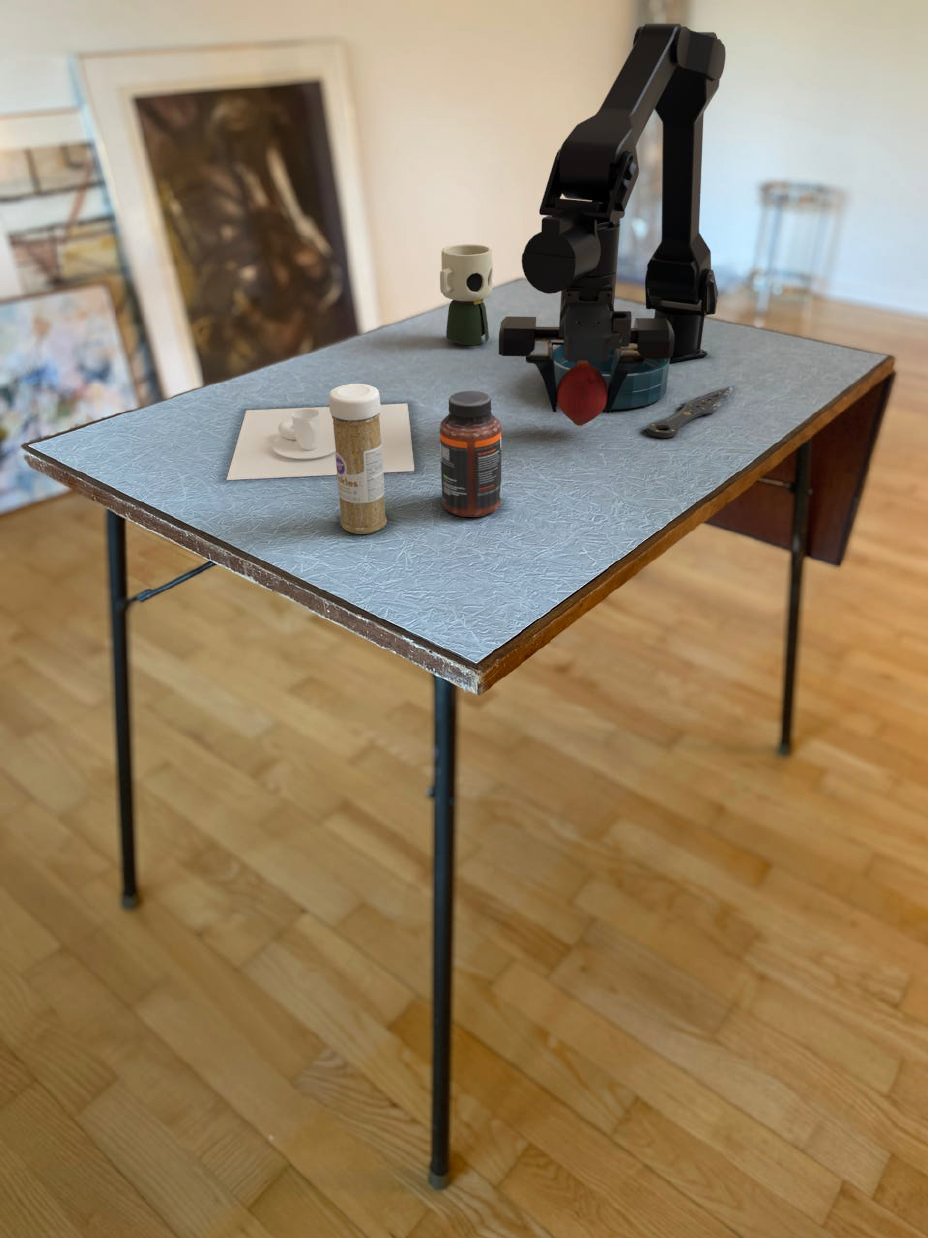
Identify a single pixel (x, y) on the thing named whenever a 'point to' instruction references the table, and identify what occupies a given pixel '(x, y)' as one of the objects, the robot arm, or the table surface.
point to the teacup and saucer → (310, 443)
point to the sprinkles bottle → (358, 457)
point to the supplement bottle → (470, 456)
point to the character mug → (466, 291)
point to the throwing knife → (689, 412)
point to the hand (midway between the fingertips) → (580, 411)
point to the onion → (582, 393)
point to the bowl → (626, 379)
